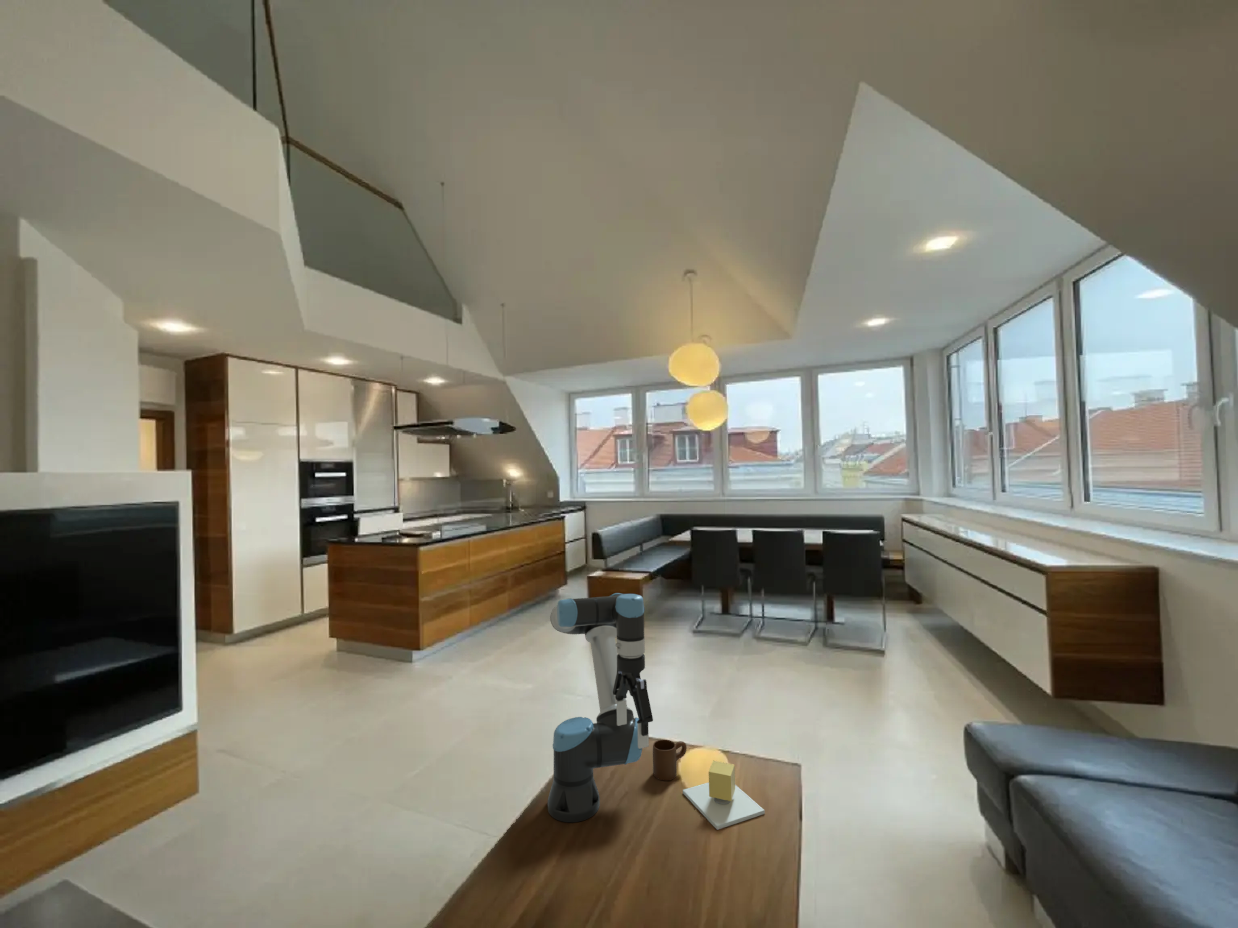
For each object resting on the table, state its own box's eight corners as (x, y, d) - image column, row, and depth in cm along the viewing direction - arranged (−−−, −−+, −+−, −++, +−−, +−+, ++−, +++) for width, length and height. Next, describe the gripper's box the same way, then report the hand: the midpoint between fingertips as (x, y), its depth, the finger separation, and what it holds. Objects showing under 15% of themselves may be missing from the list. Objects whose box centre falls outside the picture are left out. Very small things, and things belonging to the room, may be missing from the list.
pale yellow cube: (735, 788, 148) (734, 764, 149) (731, 801, 142) (730, 775, 143) (713, 784, 151) (713, 760, 151) (709, 796, 145) (708, 771, 145)
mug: (680, 762, 168) (680, 734, 169) (692, 774, 161) (692, 744, 162) (649, 771, 163) (648, 741, 164) (660, 783, 156) (659, 752, 157)
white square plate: (682, 793, 151) (682, 763, 152) (726, 780, 158) (726, 752, 158) (717, 829, 135) (716, 796, 135) (764, 813, 141) (763, 782, 142)
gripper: (600, 643, 144) (601, 718, 143) (638, 671, 121) (639, 761, 120) (624, 639, 147) (625, 713, 146) (665, 666, 124) (667, 754, 123)
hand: (632, 735), depth 133 cm, fingers open, 13 cm apart
